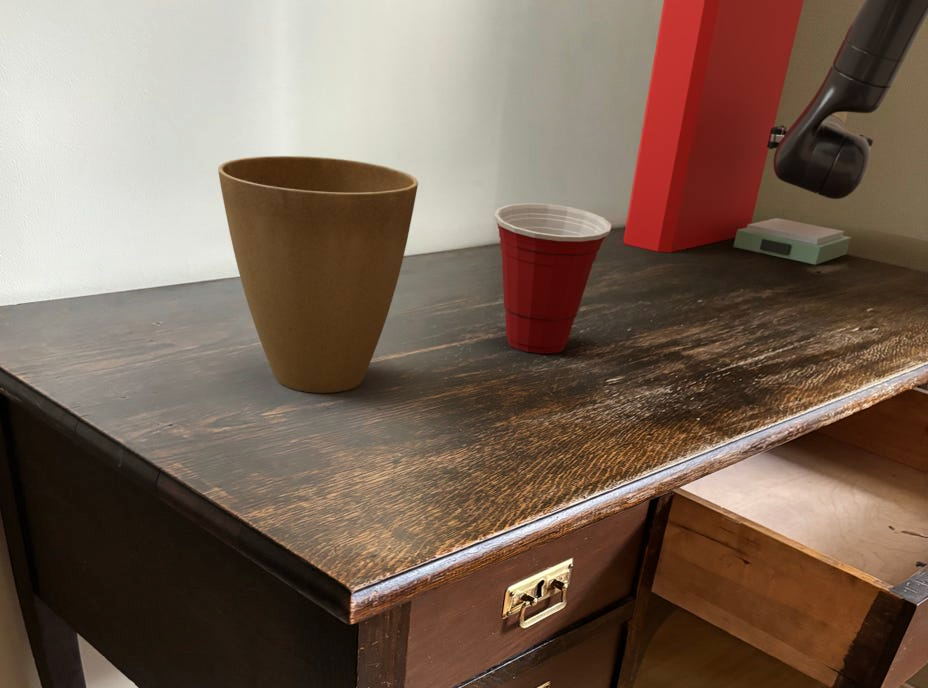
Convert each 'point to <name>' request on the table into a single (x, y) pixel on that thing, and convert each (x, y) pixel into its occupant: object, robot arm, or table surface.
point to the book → (708, 119)
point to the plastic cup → (545, 270)
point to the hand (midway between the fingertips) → (818, 138)
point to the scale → (793, 240)
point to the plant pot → (317, 260)
